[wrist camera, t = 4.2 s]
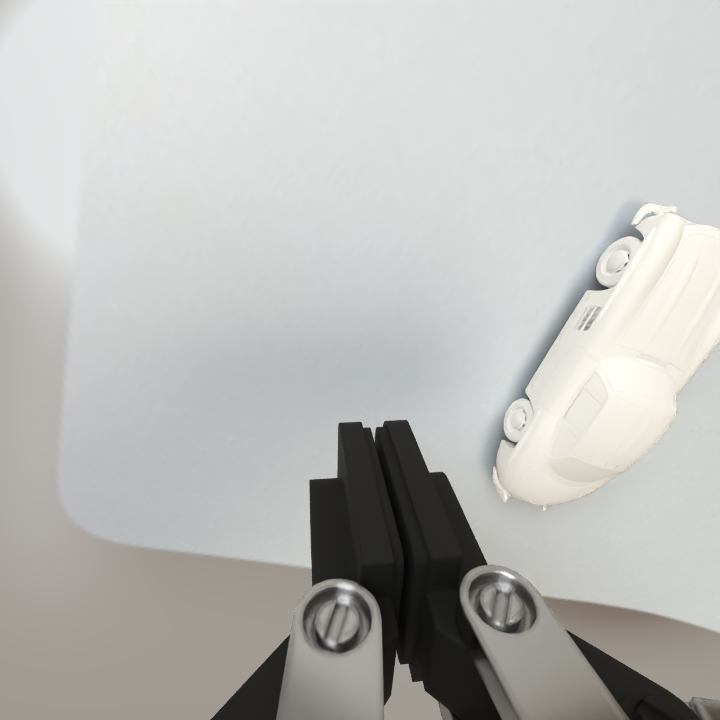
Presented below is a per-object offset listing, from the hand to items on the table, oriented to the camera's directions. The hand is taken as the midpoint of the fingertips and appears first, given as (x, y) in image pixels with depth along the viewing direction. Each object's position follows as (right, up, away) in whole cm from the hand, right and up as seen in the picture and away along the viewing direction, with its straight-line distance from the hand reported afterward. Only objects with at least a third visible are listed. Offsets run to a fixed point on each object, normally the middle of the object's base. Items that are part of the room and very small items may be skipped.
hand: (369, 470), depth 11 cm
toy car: (+9, +2, +7) cm, 11 cm away
